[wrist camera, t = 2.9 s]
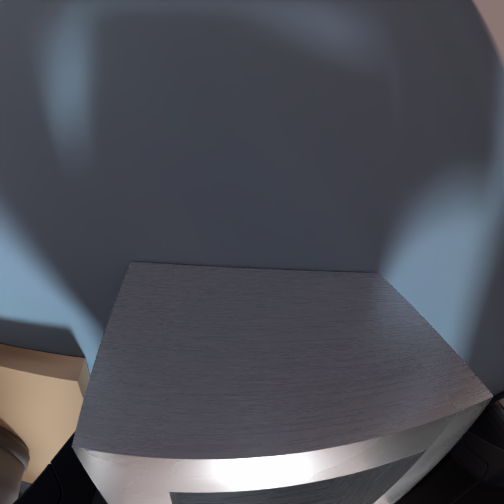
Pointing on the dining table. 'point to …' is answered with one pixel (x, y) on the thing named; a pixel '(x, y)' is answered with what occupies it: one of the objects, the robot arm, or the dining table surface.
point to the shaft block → (36, 412)
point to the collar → (268, 390)
